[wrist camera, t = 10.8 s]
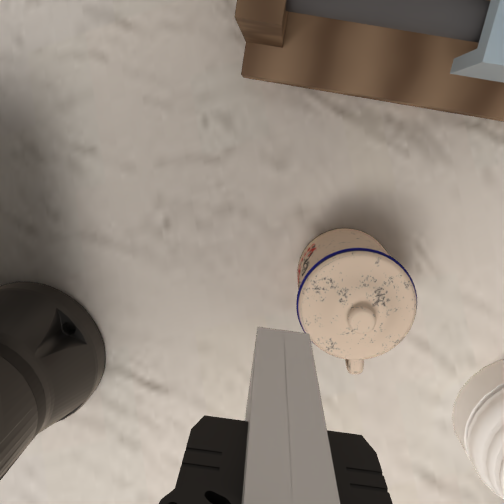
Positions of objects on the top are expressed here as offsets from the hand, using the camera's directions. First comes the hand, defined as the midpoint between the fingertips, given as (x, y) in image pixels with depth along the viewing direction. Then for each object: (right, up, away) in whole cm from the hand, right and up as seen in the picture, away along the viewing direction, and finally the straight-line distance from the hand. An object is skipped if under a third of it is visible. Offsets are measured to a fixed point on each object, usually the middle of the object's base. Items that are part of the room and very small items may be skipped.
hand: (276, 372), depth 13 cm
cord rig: (+12, +21, +24) cm, 34 cm away
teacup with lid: (+8, 0, +30) cm, 31 cm away
